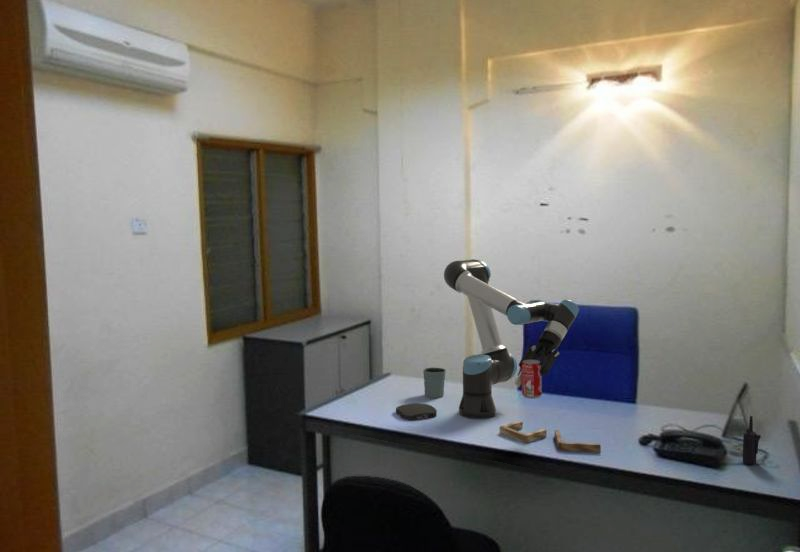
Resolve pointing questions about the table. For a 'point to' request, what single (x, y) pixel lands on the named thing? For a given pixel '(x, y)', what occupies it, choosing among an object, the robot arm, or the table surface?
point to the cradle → (576, 445)
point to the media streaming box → (416, 411)
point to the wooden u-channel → (511, 432)
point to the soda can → (531, 378)
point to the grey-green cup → (434, 382)
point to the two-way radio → (750, 444)
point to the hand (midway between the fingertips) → (522, 386)
